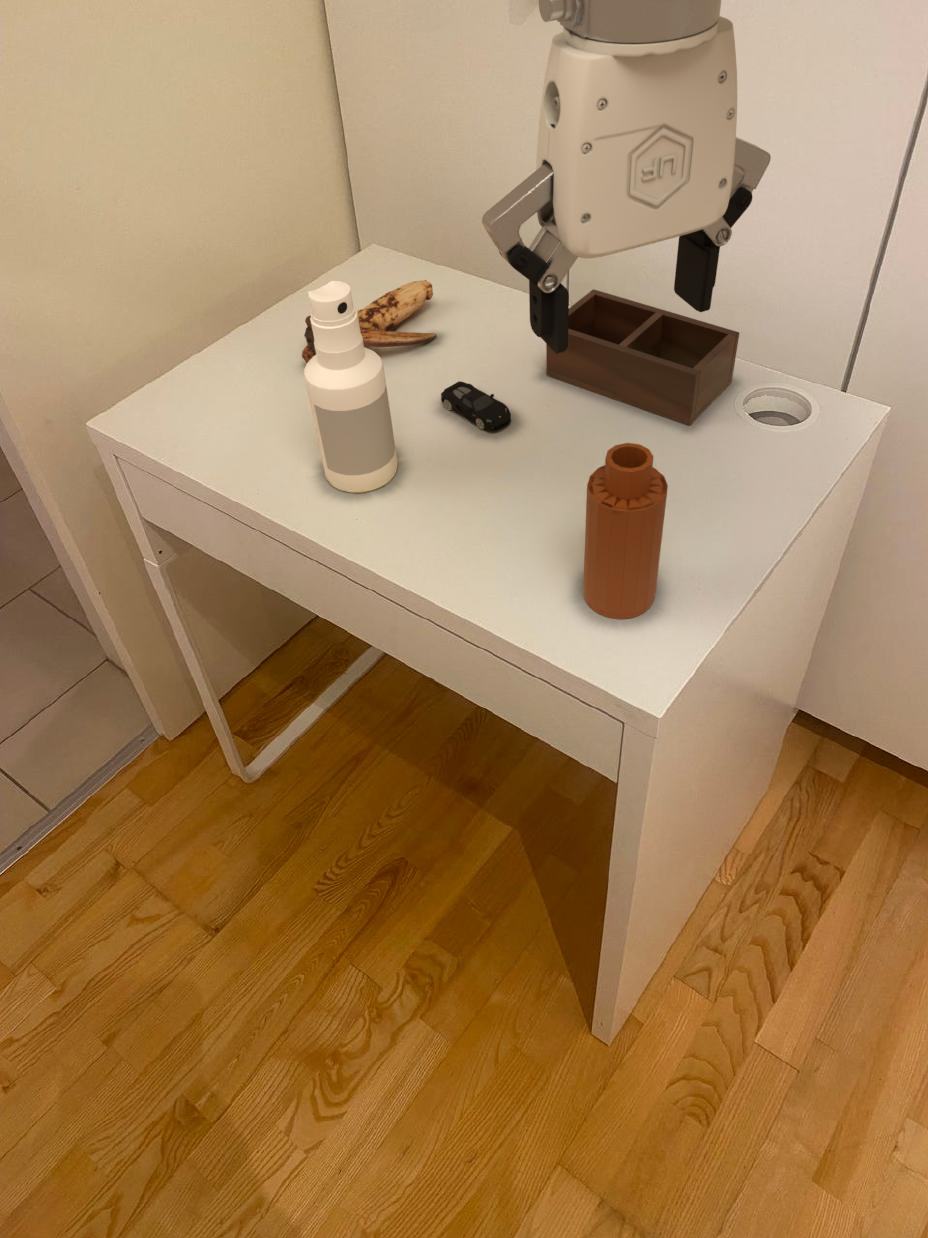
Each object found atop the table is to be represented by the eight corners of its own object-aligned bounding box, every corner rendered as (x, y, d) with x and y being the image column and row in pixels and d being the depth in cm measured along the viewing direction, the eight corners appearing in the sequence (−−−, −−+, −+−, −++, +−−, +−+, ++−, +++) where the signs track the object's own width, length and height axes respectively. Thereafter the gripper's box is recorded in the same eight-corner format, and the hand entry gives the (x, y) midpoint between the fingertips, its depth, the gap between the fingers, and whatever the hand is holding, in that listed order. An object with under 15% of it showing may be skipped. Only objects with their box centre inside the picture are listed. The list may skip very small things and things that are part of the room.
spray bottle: (352, 504, 86) (317, 322, 73) (311, 470, 90) (270, 291, 76) (412, 471, 88) (389, 289, 75) (370, 439, 92) (340, 261, 79)
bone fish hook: (345, 395, 99) (469, 321, 106) (338, 356, 95) (467, 282, 103) (290, 361, 103) (413, 292, 111) (282, 322, 100) (409, 254, 107)
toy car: (517, 421, 93) (517, 403, 91) (491, 437, 91) (490, 419, 90) (462, 390, 97) (461, 372, 96) (436, 405, 96) (435, 386, 94)
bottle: (659, 575, 77) (676, 437, 67) (648, 624, 74) (664, 487, 64) (591, 564, 78) (597, 428, 69) (577, 612, 75) (581, 476, 65)
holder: (591, 337, 102) (593, 288, 98) (731, 382, 95) (740, 331, 91) (546, 375, 98) (545, 325, 94) (689, 426, 90) (696, 374, 86)
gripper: (510, 53, 42) (519, 390, 54) (841, -17, 45) (779, 313, 58) (446, 11, 47) (468, 329, 59) (750, -48, 50) (711, 262, 63)
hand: (622, 321), depth 58 cm, fingers open, 9 cm apart
